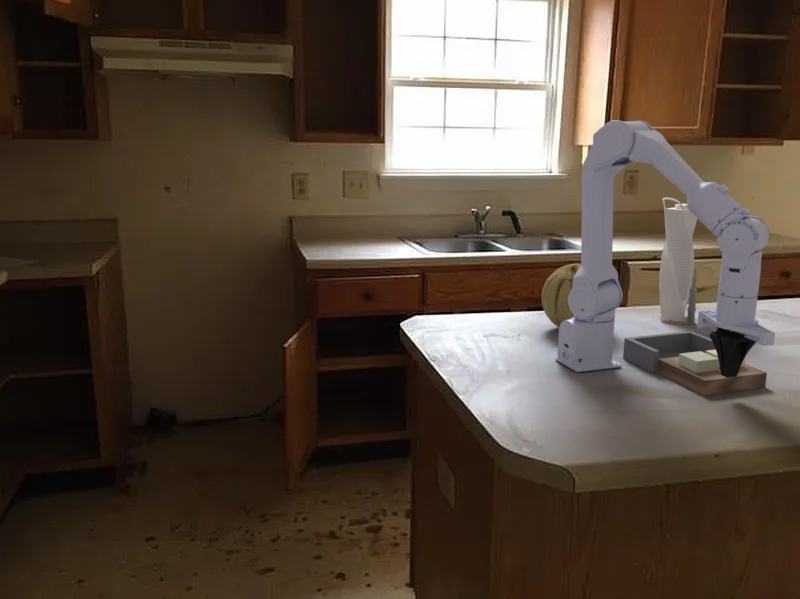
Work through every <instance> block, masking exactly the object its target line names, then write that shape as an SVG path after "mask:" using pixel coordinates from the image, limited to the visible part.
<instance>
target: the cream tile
mask: <svg viewBox="0 0 800 599" xmlns="http://www.w3.org/2000/svg"><path fill="white" fill-rule="evenodd" d="M705 353H706V354H709V355H711V356H713V357H716V358H718V355H717V352H716V350H707V351H706V352H705ZM745 361H746V357H745V358H744V360H743V362H742V365H741V367H744V365H745V364H746V362H745ZM718 368H720V365H718Z"/></svg>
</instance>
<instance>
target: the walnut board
mask: <svg viewBox="0 0 800 599" xmlns="http://www.w3.org/2000/svg"><path fill="white" fill-rule="evenodd" d="M678 362H679V357H672V358H663V359H659V360H658V372H657V373H658V374H659V375H662V376H664V377H666V378H668V379H670V380H672V381H674V382H676V383H678V384H680V385H682V386H684V387H686V388H688V389H691V390H692V391H694V392H696V393H698V394H701V395H702V396H707V395H716V394H722V393H723V394H724V393H730V392H738V391H745V390H751V389H759V388H766V385H767V384H766V383H767V376H768V375H767V374H768V372H766V371H763V370H760V369H759V368H756V367H753V366H751V365H749V364H746V363H745V365H744V367H740V369H739V372H738V374H737V377H729V378H726V377H724V376H722V375H721V371H720V368H718V370H714V371H706V372H698V373H695V372H693V371H691V370H689V369H687V368H684V367H682V366H680V365H678Z"/></svg>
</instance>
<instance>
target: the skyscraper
mask: <svg viewBox="0 0 800 599" xmlns="http://www.w3.org/2000/svg"><path fill="white" fill-rule="evenodd" d="M661 200H662V204H663V210H664V211H663V212H664V228H665V230H664V231H665V241H664V245H663V247H662V252H661V259H660V267H659V282H658V283H659V307H660V308H659V309H660V312H659V314H658V318H659V320H660V321H661V323H662V324H665V325H667V324H668V325H669V324H670V325H687V326H697V324H696V323H695V322H696V321H695V320H696V316H695V315H696V310H697V308H696V304H697V303H696V302H697V293H698V288H696V287H697V286H696V284H697V278H698V277H697V269H696V268H695V251H694V249H695V248H694V243H693V236H694V232H695V228H696V225H697V221H698V218H697V217H696V216H695V215H694V214H693V213H692V212H691V211H690V210H689V209H688V208H687V203H682V202H680V200H678V199H676V198H673V197H667V196H666V197H663V198H662V199H661ZM666 200H670V201H672V202H676V203H675V204H674V207H668V208H667V207H666ZM686 310H687V316H686V315H685V313H686Z"/></svg>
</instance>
